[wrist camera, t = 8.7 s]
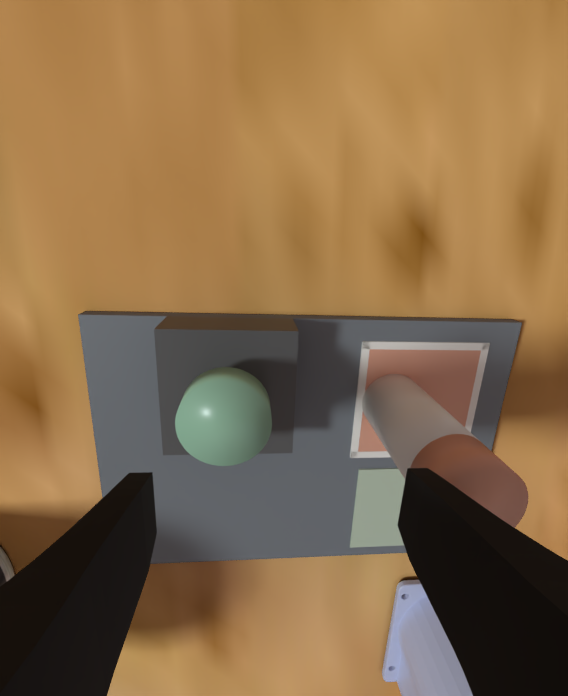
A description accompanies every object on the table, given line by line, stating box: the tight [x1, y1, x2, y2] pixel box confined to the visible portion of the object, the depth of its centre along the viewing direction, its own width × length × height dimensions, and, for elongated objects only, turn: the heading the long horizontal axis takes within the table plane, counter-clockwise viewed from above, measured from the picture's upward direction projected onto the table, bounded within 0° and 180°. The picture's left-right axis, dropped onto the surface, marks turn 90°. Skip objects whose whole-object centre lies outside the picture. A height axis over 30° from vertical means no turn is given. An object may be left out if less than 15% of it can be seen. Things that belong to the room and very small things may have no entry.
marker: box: [362, 374, 528, 528], centre depth 16 cm, size 3×3×8 cm
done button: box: [175, 367, 272, 466], centre depth 14 cm, size 4×4×1 cm
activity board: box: [78, 311, 522, 564], centre depth 21 cm, size 15×22×1 cm
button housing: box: [154, 316, 299, 455], centre depth 17 cm, size 6×6×2 cm
